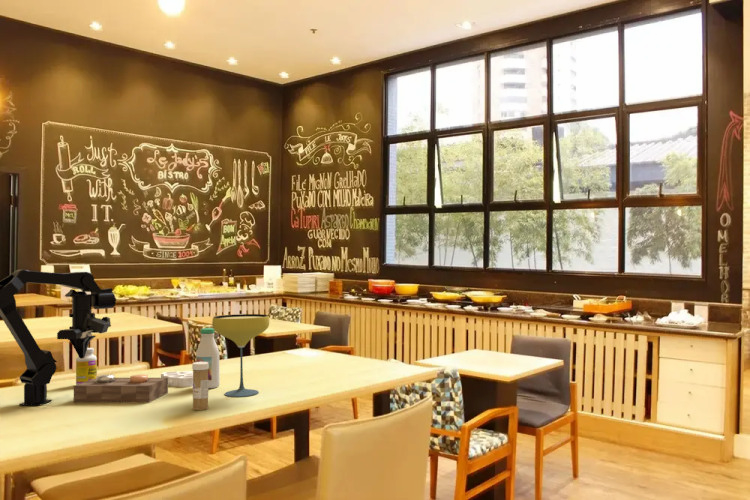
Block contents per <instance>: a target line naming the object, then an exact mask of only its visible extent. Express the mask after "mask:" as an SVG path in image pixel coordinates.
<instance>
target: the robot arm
mask: <svg viewBox="0 0 750 500" xmlns="http://www.w3.org/2000/svg"><path fill="white" fill-rule="evenodd" d="M27 283H31V284H43V285H45V284H46V285H57V286H58V285H59V286H62V287H67V288H70V289H69V291H68V292H67V293H65V295H64V297H66V298H71V300H72V301H71V303H72V304H71V313H69V314H68V317H69V318H71V319H72V321H71V325H72V326H69V328H65V329H59V330H58V332H57V333H56V338H57V339H56V340H68V341H69V342H70V343H71V345H72V347H73V349H74V350H75V352H76V354H77V355H78V356H79V358H84V357H85V354H86V351H87V348H89V345H90V343H91V341H92V340H93V339H94V338H96V337H97V336H96V335H93V334H95V333H97V334H104V333H107V332H108V329H109V328H111V327H112V324H111V323H112V322H111V317H108V316H103V317H102V318H98V317H96V313H95V312H93V311H92V308H93V309H94V310H102V309H103V310H104V309H105V310H106V309H114V308H115V306H116V303H117V302H116V301H117V298H116V296H115V292H113V288H111V287H109V288H108V287H107V288H101V287H100V286H99V285H98V283H97V282H96V281H95V278H94V275H93V274H92V273H91V272H89V271H73V272H64V273H62V272H61V273H59V272H50V271H49V272H48V271H47V272H46V271H36V270H28V269H16V270H15V271H13V272H12V273H11V274H9V275H8V276H6V277H4V278H3V279H2V280H0V318H1V319H2V321H3V322H4V324H5V325H6V327H7V329H8V330H9V332H10V334H11V336H12V337H13V338H14V340H15V342H16V344H17V345H18V346H19V348H20V350H21V352H22V353H23V356H24V362H25V366H26V370H24V371H23V372H22V373H21V374H20V376H19V380H20V383H21V384H24V385H23V402H21V403H19V404H18V405H19V406H29V407H31V406H32V407H33V406H42V405H44V404H47V403H49V402H52V399H51V398H50V399H48V384H50V382H51V380H52V377H53V376H54V375H55V373H56V370H57V362H58V361H57V360H56V359H55V358H54V357H53V354H52V352H51V350H45V349H41V347H40V346H39V344H38V343H37V341H36V340H35V338H34V336H33V334H32V333H31V331H30V330H29V327H28V326H27V325H26V323H25V322H24V320H23V317H22V316H21V315H20V313H19V311H18V309H17V300H16V297H15V295H16V294H17V293H19V291H21V289H22V288H23V286H24V285H25V284H27ZM76 290H80V291H76ZM78 356H77V357H78Z"/></svg>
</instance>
